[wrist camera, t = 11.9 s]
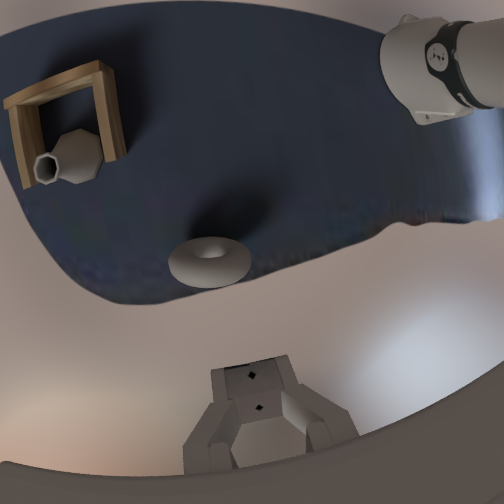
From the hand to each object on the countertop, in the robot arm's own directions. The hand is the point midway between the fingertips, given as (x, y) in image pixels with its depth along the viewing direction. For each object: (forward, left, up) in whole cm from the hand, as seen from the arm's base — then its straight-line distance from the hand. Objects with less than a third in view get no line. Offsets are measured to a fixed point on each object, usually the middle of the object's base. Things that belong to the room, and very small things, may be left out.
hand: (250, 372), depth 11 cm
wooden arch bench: (+15, -12, -30) cm, 36 cm away
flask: (+15, -8, -30) cm, 35 cm away
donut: (+1, +7, -30) cm, 31 cm away
